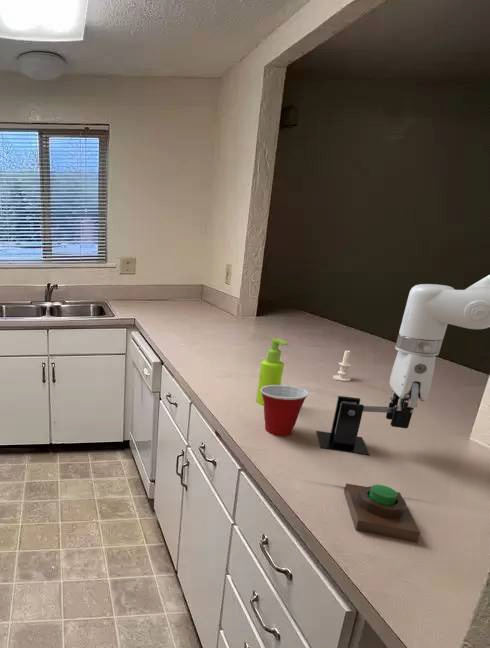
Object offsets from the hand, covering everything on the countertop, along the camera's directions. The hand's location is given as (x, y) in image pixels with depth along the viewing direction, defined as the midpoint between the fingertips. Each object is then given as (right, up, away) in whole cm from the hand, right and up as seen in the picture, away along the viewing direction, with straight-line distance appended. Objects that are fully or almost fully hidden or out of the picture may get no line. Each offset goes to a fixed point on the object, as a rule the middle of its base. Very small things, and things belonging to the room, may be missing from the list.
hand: (396, 422), depth 97 cm
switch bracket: (-9, -6, +6) cm, 13 cm away
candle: (+17, +10, +50) cm, 54 cm away
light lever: (-4, +1, +1) cm, 5 cm away
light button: (-17, -12, -20) cm, 28 cm away
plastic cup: (-21, -4, +13) cm, 25 cm away
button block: (-17, -15, -18) cm, 29 cm away
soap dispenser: (-17, +2, +29) cm, 34 cm away
